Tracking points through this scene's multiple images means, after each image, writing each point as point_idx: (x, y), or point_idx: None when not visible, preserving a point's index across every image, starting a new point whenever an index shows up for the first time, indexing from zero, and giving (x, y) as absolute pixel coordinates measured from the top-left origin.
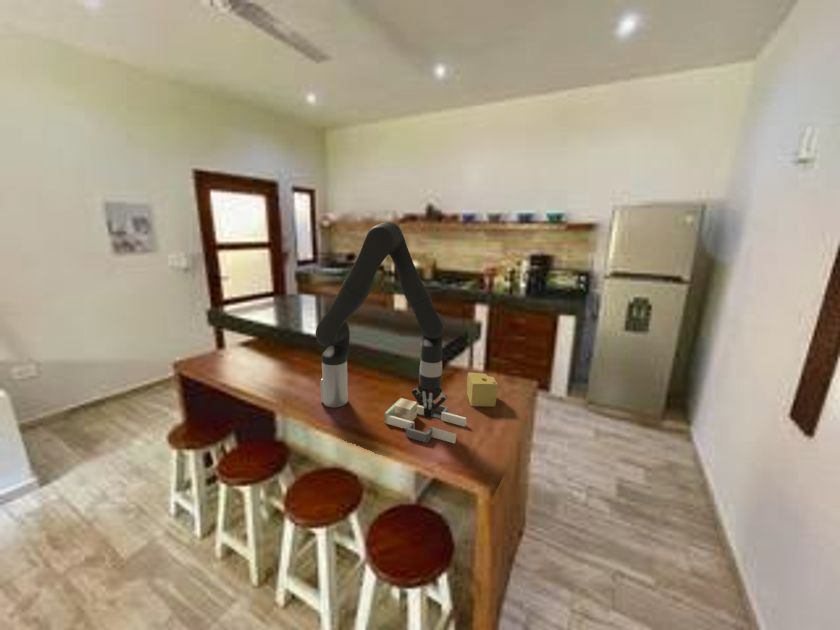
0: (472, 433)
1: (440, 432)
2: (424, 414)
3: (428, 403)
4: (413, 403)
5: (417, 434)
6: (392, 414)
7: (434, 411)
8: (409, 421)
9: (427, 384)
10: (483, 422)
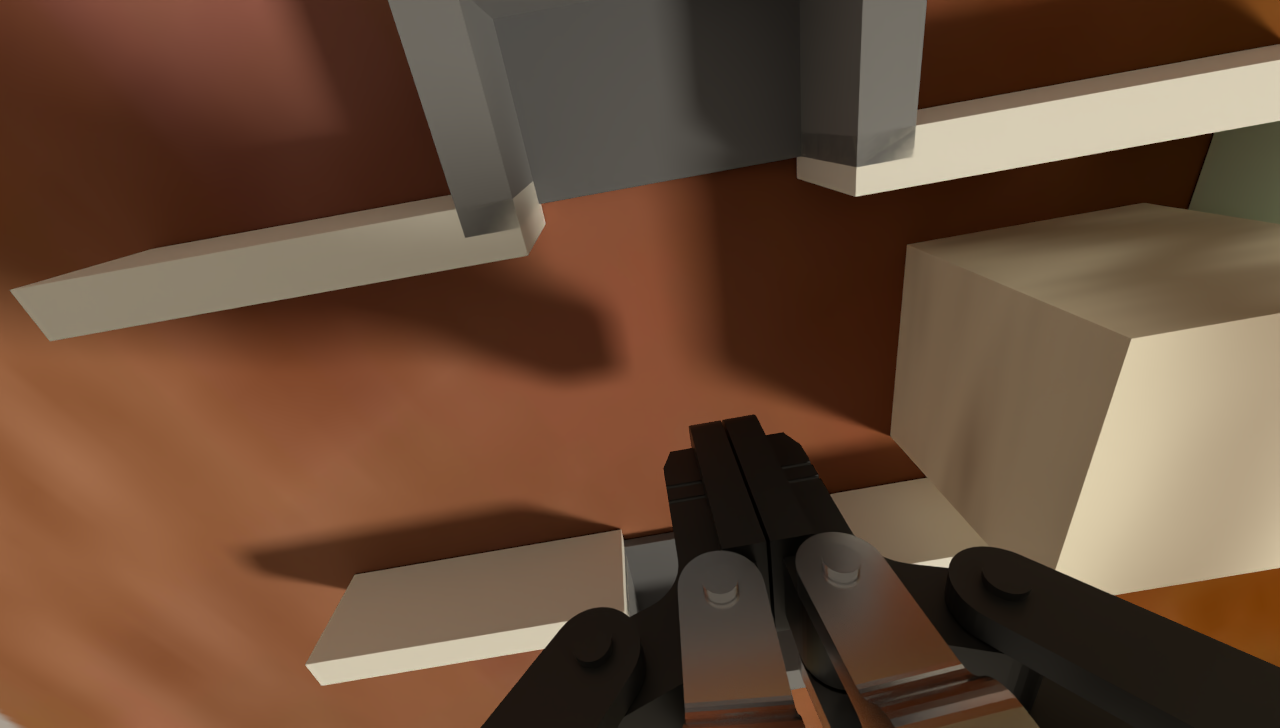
0: (205, 532)
1: (306, 233)
2: (785, 446)
3: (823, 684)
4: (1100, 547)
5: None
6: None
7: None
8: (951, 152)
9: None
10: (288, 697)
